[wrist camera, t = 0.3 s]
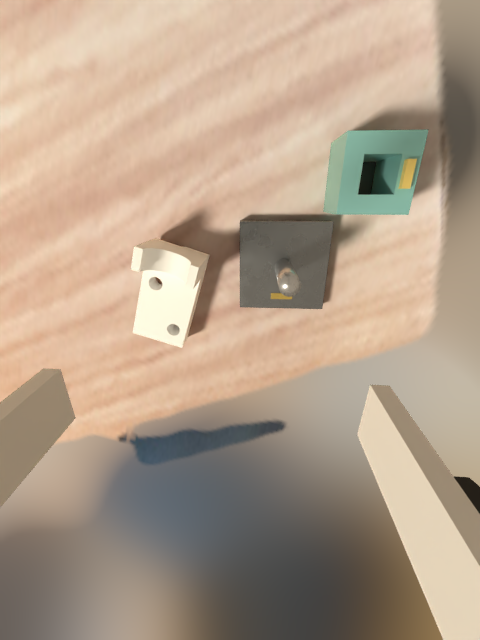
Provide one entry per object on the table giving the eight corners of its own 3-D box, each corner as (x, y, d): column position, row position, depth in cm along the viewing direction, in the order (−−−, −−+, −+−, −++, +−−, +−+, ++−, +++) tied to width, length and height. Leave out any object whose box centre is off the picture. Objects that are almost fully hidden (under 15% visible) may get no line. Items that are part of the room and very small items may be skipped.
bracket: (158, 237, 35) (134, 246, 28) (210, 254, 36) (198, 267, 29) (142, 322, 41) (119, 347, 34) (188, 336, 41) (173, 363, 34)
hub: (331, 143, 30) (349, 129, 24) (396, 142, 29) (432, 127, 23) (323, 211, 33) (337, 214, 27) (382, 211, 32) (411, 214, 26)
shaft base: (240, 220, 34) (234, 227, 25) (330, 220, 33) (356, 228, 24) (240, 303, 38) (235, 333, 29) (319, 304, 37) (338, 336, 29)
